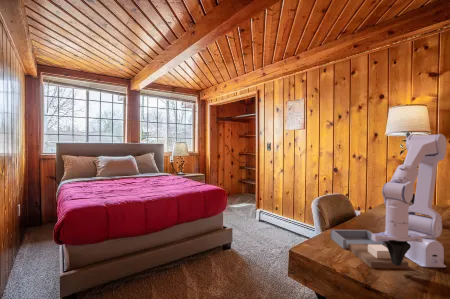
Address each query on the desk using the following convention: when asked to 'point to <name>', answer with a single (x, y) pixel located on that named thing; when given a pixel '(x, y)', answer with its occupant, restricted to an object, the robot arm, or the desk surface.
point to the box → (353, 237)
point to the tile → (379, 251)
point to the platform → (373, 257)
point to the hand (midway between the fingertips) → (396, 264)
